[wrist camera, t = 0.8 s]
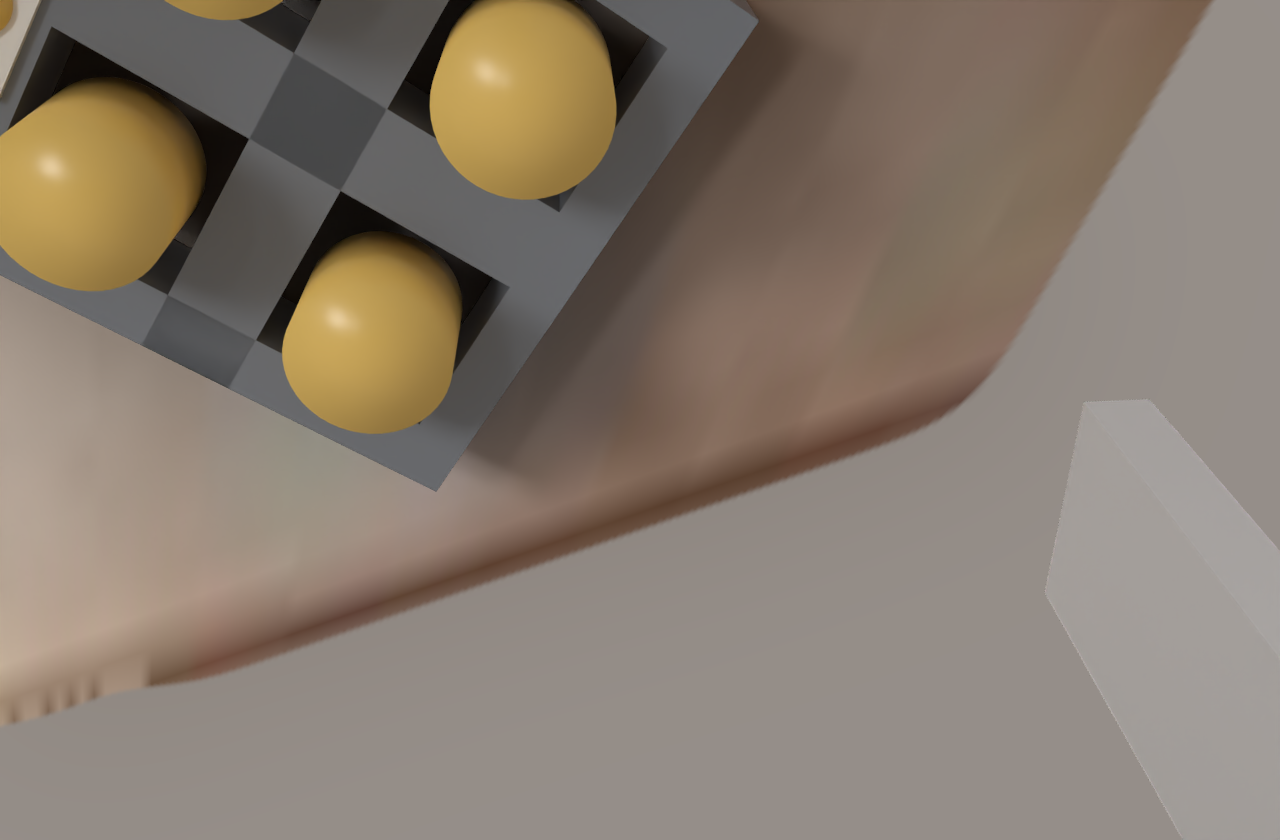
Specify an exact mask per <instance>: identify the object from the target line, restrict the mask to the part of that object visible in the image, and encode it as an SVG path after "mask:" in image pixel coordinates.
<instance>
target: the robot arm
mask: <svg viewBox="0 0 1280 840" xmlns="http://www.w3.org/2000/svg"><path fill="white" fill-rule="evenodd" d="M1045 594H1046V596H1047V598H1048V600H1049V602H1050V603H1051V605H1052V607H1053V609H1054V611H1055V612H1056V614H1057V616H1058V618H1059V619H1060V621H1061V623H1062V625H1063V627H1064V629H1065V630H1066V632H1067V634H1068V636H1069V637H1070V639H1071V641H1072V643H1073V645H1074V646H1075V648H1076V650H1077V652H1078V654H1079V655H1080V657H1081V659H1082V661H1083V663H1084V664H1085V666H1086V668H1087V670H1088V672H1089V673H1090V675H1091V677H1092V679H1093V680H1094V682H1095V684H1096V686H1097V688H1098V689H1099V691H1100V693H1101V695H1102V697H1103V698H1104V700H1105V702H1106V704H1107V706H1108V707H1109V709H1110V711H1111V713H1112V715H1113V716H1114V718H1115V720H1116V722H1117V723H1118V725H1119V727H1120V729H1121V730H1122V732H1123V734H1124V736H1125V738H1126V739H1127V741H1128V743H1129V745H1130V747H1131V748H1132V750H1133V752H1134V754H1135V756H1136V758H1137V759H1138V761H1139V763H1140V765H1141V766H1142V768H1143V770H1144V772H1145V774H1146V775H1147V777H1148V779H1149V781H1150V783H1151V784H1152V786H1153V788H1154V790H1155V791H1156V793H1157V795H1158V797H1159V799H1160V801H1161V802H1162V804H1163V806H1164V808H1165V809H1166V811H1167V813H1168V815H1169V817H1170V818H1171V820H1172V822H1173V824H1174V825H1175V827H1176V829H1177V831H1178V833H1179V835H1180V836H1181V838H1182V840H1280V551H1279V550H1278V548H1277V547H1276V546H1275V545H1274V544H1273V543H1272V541H1271V540H1270V539H1269V538H1268V537H1267V536H1266V534H1265V533H1264V532H1263V531H1262V530H1261V529H1260V527H1259V526H1258V525H1257V524H1256V523H1255V522H1254V520H1253V519H1252V518H1251V517H1250V516H1249V515H1248V513H1247V512H1246V511H1245V510H1244V509H1243V508H1242V506H1241V505H1240V504H1239V503H1238V502H1237V501H1236V500H1235V498H1234V497H1233V496H1232V495H1231V494H1230V492H1229V491H1228V490H1227V489H1226V488H1225V487H1224V485H1223V484H1222V483H1221V482H1220V481H1219V480H1218V479H1217V477H1216V476H1215V475H1214V474H1213V473H1212V471H1211V470H1210V469H1209V468H1208V467H1207V466H1206V464H1205V463H1204V462H1203V461H1202V460H1201V459H1200V457H1199V456H1198V455H1197V454H1196V453H1195V452H1194V450H1193V449H1192V448H1191V447H1190V446H1189V445H1188V443H1187V442H1186V441H1185V440H1184V439H1183V438H1182V437H1181V435H1180V434H1179V433H1178V432H1177V431H1176V429H1174V427H1173V426H1172V425H1171V424H1170V422H1169V421H1168V420H1167V419H1166V418H1165V417H1164V416H1163V414H1162V413H1161V412H1160V411H1159V410H1158V408H1157V407H1156V406H1155V405H1154V404H1153V403H1152V402H1151V400H1150V399H1141V400H1117V401H1092V402H1084V404H1083V408H1082V413H1081V418H1080V423H1079V427H1078V432H1077V437H1076V442H1075V447H1074V452H1073V457H1072V462H1071V466H1070V471H1069V476H1068V481H1067V486H1066V491H1065V496H1064V500H1063V505H1062V511H1061V515H1060V520H1059V525H1058V530H1057V535H1056V540H1055V544H1054V550H1053V554H1052V559H1051V564H1050V569H1049V574H1048V579H1047V584H1046V588H1045Z"/></svg>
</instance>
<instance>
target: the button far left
mask: <svg viewBox="0 0 1280 840" xmlns="http://www.w3.org/2000/svg"><path fill="white" fill-rule="evenodd" d="M206 175H207V171H206V160H205V154H204V151H203V147H202V144H201V142H200V139H199V137H198V135H197V133H196V131H195V130H194V128H193V126H192V125H191V123H190V122H189V120H188V119H187V118H186V117H185V115H184V114H183V113H182V112H181V111H180V110H179V109H178V108H177V107H176V106H175V105H174V104H173V103H172V102H171V101H169V100H168V99H167V98H166V97H164V96H163V95H161V94H160V93H158V92H156V91H155V90H153V89H151V88H149V87H147V86H145V85H143V84H140V83H137V82H134V81H131V80H127V79H123V78H115V77H95V78H88V79H84V80H81V81H77V82H75V83H73V84H71V85H69V86H67V87H65V88H64V89H62V90H61V91H59V92H58V93H56V94H55V95H54V96H53V97H51V98H50V99H49V100H47V101H46V102H45V103H43V104H42V105H41V106H39V107H38V108H37V109H35V110H34V111H33V112H31V113H30V114H29V115H27V116H26V117H25V118H23V119H22V120H21V121H19V122H18V123H17V124H15V125H14V126H13V127H11V128H10V129H9V130H7V131H6V132H5V133H4V134H2V135H1V136H0V246H1V247H2V248H3V249H4V250H5V251H6V253H7V254H8V255H9V256H10V257H11V258H12V259H14V260H15V261H16V262H17V263H18V264H19V265H21V266H22V267H23V268H25V269H26V270H28V271H29V272H30V273H32V274H34V275H36V276H37V277H39V278H41V279H43V280H45V281H48V282H50V283H52V284H55V285H58V286H61V287H64V288H69V289H74V290H81V291H104V290H111V289H115V288H119V287H122V286H125V285H127V284H129V283H132V282H134V281H135V280H137V279H138V278H140V277H142V276H143V275H144V274H145V273H146V272H148V271H149V270H150V269H151V268H152V266H153V265H154V264H155V263H156V262H157V260H158V259H159V258H160V256H161V255H162V254H163V252H164V251H165V249H166V248H167V247H168V245H169V244H170V243H171V241H172V240H173V239H174V237H175V236H176V235H177V233H178V232H179V230H180V229H181V228H182V226H183V225H184V224H185V222H186V221H187V220H188V218H189V217H190V216H191V214H192V213H193V211H194V210H195V208H196V207H197V205H198V204H199V202H200V200H201V197H202V195H203V192H204V188H205V184H206Z"/></svg>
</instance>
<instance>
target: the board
mask: <svg viewBox="0 0 1280 840" xmlns="http://www.w3.org/2000/svg"><path fill="white" fill-rule="evenodd" d="M448 1H449V0H321V2H320V4H319V6H318V8H317V10H316V12H315V14H314V16H313V18H312V20H311V22H309V21H307V20H305V19H304V18H302V17H301V16H299V15H297V14H296V13H294V12H292V11H291V10H289V9H287V8H286V7H284V6H283V5H281V4H278V5H276V6H275V7H273V8H272V9H270V10H268V11H266V12H263V13H261V14H259V15H256V16H252V17H249V18H244V19H238V20H216V19H208V18H204V17H200V16H196V15H193V14H190V13H188V12H185V11H183V10H181V9H179V8H177V7H175V6H173V5H171V4H169V3H168V2H166V1H165V0H0V136H1V135H2V134H4V133H5V132H6V131H7V130H9V129H10V128H11V127H13V126H14V125H15V124H17V123H18V122H19V121H21V120H22V119H23V118H25V117H26V116H27V115H29V114H30V113H31V112H33V111H34V110H35V109H37V108H38V107H39V106H41V105H42V104H43V103H45V102H46V101H47V100H49V99H50V98H51V96H52V94H53V92H54V89H55V87H56V85H57V83H58V80H59V78H60V76H61V73H62V71H63V69H64V67H65V64H66V62H67V60H68V57H69V55H70V53H71V51H72V48H73V46H74V44H75V41H78V42H80V43H82V44H83V45H85V46H87V47H89V48H90V49H92V50H94V51H96V52H97V53H99V54H101V55H103V56H104V57H106V58H108V59H110V60H111V61H113V62H115V63H117V64H119V65H120V66H122V67H124V68H126V69H127V70H129V71H131V72H133V73H134V74H136V75H138V76H140V77H141V78H143V79H145V80H147V81H148V82H150V83H152V84H154V85H155V86H157V87H159V88H161V89H162V90H164V91H166V92H168V93H169V94H171V95H173V96H175V97H176V98H178V99H180V100H182V101H184V102H185V103H187V104H189V105H191V106H192V107H194V108H196V109H198V110H199V111H201V112H203V113H205V114H206V115H208V116H210V117H212V118H213V119H215V120H217V121H219V122H220V123H222V124H224V125H226V126H227V127H229V128H231V129H233V130H234V131H236V132H238V133H240V134H242V135H243V136H245V137H247V138H249V140H248V142H247V144H246V146H245V148H244V150H243V152H242V154H241V156H240V158H239V160H238V162H237V163H236V165H235V167H234V169H233V171H232V173H231V175H230V177H229V179H228V181H227V183H226V185H225V186H224V188H223V190H222V192H221V194H220V196H219V198H218V200H217V202H216V204H215V206H214V208H213V209H212V211H211V213H210V215H209V217H208V219H207V221H206V223H205V225H204V227H203V229H202V231H201V232H200V234H199V236H198V238H197V240H196V242H195V244H194V246H193V248H192V249H190V248H189V247H187V246H185V245H183V244H181V243H179V242H177V241H175V240H174V239H173V240H172V241H171V243H170V244H169V245H168V247H167V248H166V249H165V251H164V252H163V254H162V255H161V256H160V258H159V259H158V260H157V262H156V263H155V264H154V265H153V266H152V268H151V269H150V270H149V271H148V272H146V273H145V274H144V275H143V276H142V277H140V278H138V279H137V280H135V281H134V282H132V283H129V284H127V285H125V286H122V287H119V288H115V289H111V290H104V291H81V290H74V289H69V288H64V287H61V286H58V285H55V284H52V283H50V282H48V281H45V280H43V279H41V278H39V277H37V276H36V275H34V274H32V273H30V272H29V271H28V270H26V269H25V268H23V267H22V266H21V265H19V264H18V263H17V262H16V261H15V260H14V259H12V258H11V257H10V256H9V255H8V254H7V253H6V251H5V250H4V249H3V248H2V247H1V246H0V275H1V276H3V277H5V278H7V279H9V280H11V281H13V282H15V283H17V284H19V285H21V286H23V287H25V288H27V289H29V290H31V291H33V292H35V293H37V294H39V295H41V296H43V297H45V298H47V299H49V300H51V301H53V302H55V303H57V304H59V305H61V306H63V307H65V308H67V309H69V310H71V311H73V312H75V313H78V314H80V315H82V316H84V317H86V318H88V319H90V320H92V321H94V322H96V323H98V324H100V325H102V326H104V327H106V328H108V329H110V330H112V331H114V332H116V333H118V334H120V335H122V336H124V337H126V338H128V339H130V340H132V341H134V342H136V343H138V344H140V345H142V346H144V347H146V348H148V349H150V350H152V351H154V352H156V353H158V354H160V355H162V356H164V357H166V358H168V359H170V360H172V361H174V362H176V363H178V364H180V365H182V366H184V367H186V368H188V369H190V370H192V371H194V372H196V373H198V374H200V375H202V376H204V377H206V378H208V379H210V380H212V381H214V382H216V383H218V384H220V385H222V386H224V387H226V388H228V389H230V390H232V391H234V392H236V393H238V394H240V395H243V396H245V397H247V398H249V399H251V400H253V401H255V402H257V403H259V404H261V405H263V406H265V407H267V408H269V409H271V410H273V411H275V412H277V413H279V414H281V415H283V416H285V417H287V418H289V419H291V420H293V421H295V422H297V423H299V424H301V425H303V426H305V427H307V428H309V429H311V430H313V431H315V432H317V433H319V434H321V435H323V436H325V437H327V438H329V439H331V440H333V441H335V442H337V443H339V444H341V445H343V446H345V447H347V448H349V449H351V450H353V451H355V452H357V453H359V454H361V455H363V456H365V457H367V458H369V459H371V460H373V461H375V462H377V463H379V464H381V465H383V466H385V467H387V468H389V469H391V470H393V471H395V472H397V473H399V474H401V475H403V476H405V477H408V478H410V479H412V480H414V481H416V482H418V483H420V484H422V485H424V486H426V487H428V488H430V489H432V490H434V491H437V490H438V488H439V487H440V486H441V484H442V483H443V481H444V480H445V478H446V477H447V475H448V474H449V472H450V471H451V469H452V468H453V467H454V465H455V464H456V462H457V461H458V459H459V458H460V456H461V455H462V453H463V452H464V451H465V449H466V448H467V446H468V445H469V443H470V442H471V440H472V439H473V437H474V436H475V434H476V433H477V432H478V430H479V429H480V427H481V426H482V424H483V423H484V421H485V420H486V418H487V417H488V416H489V414H490V413H491V411H492V410H493V408H494V407H495V405H496V404H497V402H498V401H499V400H500V398H501V397H502V395H503V394H504V392H505V391H506V389H507V388H508V386H509V385H510V383H511V382H512V381H513V379H514V378H515V376H516V375H517V373H518V372H519V370H520V369H521V367H522V366H523V365H524V363H525V362H526V360H527V359H528V357H529V356H530V354H531V353H532V351H533V350H534V348H535V347H536V346H537V344H538V343H539V341H540V340H541V338H542V337H543V335H544V334H545V332H546V331H547V330H548V328H549V327H550V325H551V324H552V322H553V321H554V319H555V318H556V316H557V315H558V314H559V312H560V311H561V309H562V308H563V306H564V305H565V303H566V302H567V300H568V299H569V297H570V296H571V295H572V293H573V292H574V290H575V289H576V287H577V286H578V284H579V283H580V281H581V280H582V279H583V277H584V276H585V274H586V273H587V271H588V270H589V268H590V267H591V265H592V264H593V262H594V261H595V260H596V258H597V257H598V255H599V254H600V252H601V251H602V249H603V248H604V246H605V245H606V244H607V242H608V241H609V239H610V238H611V236H612V235H613V233H614V232H615V230H616V229H617V228H618V226H619V225H620V223H621V222H622V220H623V219H624V217H625V216H626V214H627V213H628V211H629V210H630V209H631V207H632V206H633V204H634V203H635V201H636V200H637V198H638V197H639V195H640V194H641V193H642V191H643V190H644V188H645V187H646V185H647V184H648V182H649V181H650V179H651V178H652V177H653V175H654V174H655V172H656V171H657V169H658V168H659V166H660V165H661V163H662V162H663V160H664V159H665V158H666V156H667V155H668V153H669V152H670V150H671V149H672V147H673V146H674V144H675V143H676V142H677V140H678V139H679V137H680V136H681V134H682V133H683V131H684V130H685V128H686V127H687V125H688V124H689V123H690V121H691V120H692V118H693V117H694V115H695V114H696V112H697V111H698V109H699V108H700V107H701V105H702V104H703V102H704V101H705V99H706V98H707V96H708V95H709V93H710V92H711V91H712V89H713V88H714V86H715V85H716V83H717V82H718V80H719V79H720V77H721V76H722V74H723V73H724V72H725V70H726V69H727V67H728V66H729V64H730V63H731V61H732V60H733V58H734V57H735V56H736V54H737V53H738V51H739V50H740V48H741V47H742V45H743V44H744V42H745V41H746V39H747V38H748V37H749V35H750V34H751V32H752V31H753V29H754V28H755V26H756V25H757V23H758V22H759V20H758V18H757V17H756V15H755V14H754V12H753V11H752V9H751V7H750V6H749V4H748V3H747V1H746V0H597V1H598V2H600V3H601V4H603V5H604V6H606V7H607V8H608V9H610V10H611V11H613V12H614V13H616V14H617V15H619V16H620V17H622V18H623V19H625V20H626V21H628V22H629V23H631V24H632V25H634V26H635V27H637V28H638V29H640V30H641V31H643V32H644V33H646V34H647V35H649V38H648V39H647V41H646V43H645V44H644V46H643V47H642V49H641V50H640V52H639V53H638V55H637V56H636V58H635V59H634V61H633V63H632V64H631V66H630V67H629V69H628V70H627V72H626V73H625V75H624V76H623V78H622V80H621V81H620V83H619V84H618V86H617V87H616V89H615V90H614V91H615V98H616V123H615V129H614V133H613V137H612V140H611V142H610V145H609V147H608V150H607V151H606V153H605V155H604V157H603V158H602V160H601V161H600V163H599V164H598V165H597V167H596V168H595V169H594V170H593V171H592V172H591V173H590V174H589V175H588V176H587V177H586V178H585V179H583V180H582V181H581V182H580V183H578V184H577V185H575V186H573V187H572V188H570V189H568V190H566V191H564V192H562V193H559V194H557V195H553V196H550V197H546V198H540V199H531V200H520V199H511V198H506V197H502V196H498V195H495V194H493V193H490V192H487V191H485V190H483V189H481V188H479V187H478V186H476V185H474V184H473V183H471V182H470V181H469V180H467V179H466V178H465V177H464V176H462V175H461V174H460V173H459V172H458V171H457V170H456V169H455V168H454V167H453V165H452V164H451V163H450V162H449V160H448V159H447V158H446V156H445V155H444V153H443V151H442V149H441V148H440V146H439V144H438V142H437V139H436V136H435V133H434V131H433V126H432V122H431V116H430V95H428V94H426V93H425V92H423V91H421V90H420V89H418V88H417V87H415V86H413V85H412V84H410V83H408V82H407V81H405V80H404V78H405V77H406V75H407V73H408V71H409V70H410V68H411V66H412V64H413V63H414V61H415V59H416V57H417V56H418V54H419V52H420V50H421V49H422V47H423V45H424V43H425V41H426V40H427V38H428V36H429V34H430V33H431V31H432V29H433V27H434V26H435V24H436V22H437V20H438V19H439V17H440V15H441V13H442V12H443V10H444V8H445V6H446V5H447V3H448ZM340 191H342V192H343V193H345V194H347V195H349V196H350V197H352V198H354V199H356V200H357V201H359V202H361V203H363V204H364V205H366V206H368V207H370V208H372V209H373V210H375V211H377V212H379V213H380V214H382V215H384V216H386V217H387V218H389V219H391V220H393V221H394V222H396V223H398V224H400V225H401V226H403V227H405V228H407V229H408V230H410V231H412V232H414V233H415V234H417V235H419V236H421V237H422V238H424V239H426V240H428V241H429V242H431V243H433V244H435V245H437V246H438V247H440V248H442V249H444V250H445V251H447V252H449V253H451V254H452V255H454V256H456V257H458V258H459V259H461V260H463V261H465V262H466V263H468V264H470V265H472V266H473V267H475V268H477V269H479V270H480V271H482V272H484V273H486V274H487V275H489V276H491V277H493V278H492V280H491V281H490V283H489V284H488V286H487V287H486V289H485V290H484V292H483V294H482V295H481V297H480V298H479V300H478V301H477V303H476V304H475V306H474V307H473V309H472V310H471V312H470V314H469V315H468V317H467V318H466V320H465V321H464V323H463V324H462V326H461V327H460V331H459V337H458V343H457V349H456V355H455V361H454V367H453V374H452V378H451V383H450V386H449V388H448V391H447V393H446V395H445V397H444V398H443V400H442V402H441V403H440V404H439V405H438V407H437V408H436V409H435V410H434V411H433V412H432V413H431V414H430V415H429V416H427V417H426V418H425V419H423V420H422V421H420V422H418V423H417V424H415V425H413V426H411V427H408V428H406V429H403V430H399V431H395V432H390V433H383V434H367V433H358V432H353V431H349V430H346V429H342V428H339V427H337V426H335V425H332V424H330V423H328V422H327V421H325V420H323V419H321V418H320V417H318V416H317V415H316V414H314V413H313V412H312V411H311V410H309V409H308V408H307V407H306V406H305V405H304V404H303V403H302V401H301V400H300V399H299V398H298V397H297V395H296V394H295V392H294V391H293V389H292V388H291V386H290V383H289V381H288V379H287V377H286V373H285V370H284V366H283V359H282V347H283V340H284V336H285V333H286V330H287V327H288V325H289V323H290V321H291V318H292V316H293V314H294V312H295V309H296V307H297V305H296V304H294V303H292V302H290V301H289V300H287V299H285V298H283V297H281V295H282V293H283V292H284V290H285V288H286V286H287V284H288V283H289V281H290V279H291V277H292V276H293V274H294V272H295V270H296V269H297V267H298V265H299V263H300V262H301V260H302V258H303V256H304V255H305V253H306V251H307V249H308V248H309V246H310V244H311V242H312V240H313V239H314V237H315V235H316V233H317V232H318V230H319V228H320V226H321V225H322V223H323V221H324V219H325V218H326V216H327V214H328V212H329V211H330V209H331V207H332V205H333V203H334V202H335V200H336V198H337V196H338V195H339V193H340Z"/></svg>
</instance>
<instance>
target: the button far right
mask: <svg viewBox="0 0 1280 840" xmlns="http://www.w3.org/2000/svg"><path fill="white" fill-rule="evenodd" d="M462 308H463V304H462V295H461V290H460V287H459V284H458V281H457V279H456V277H455V275H454V273H453V271H452V270H451V268H450V267H449V265H448V264H447V263H446V261H445V260H444V259H443V258H442V257H441V256H440V255H439V254H438V253H437V252H435V251H434V250H433V249H432V248H430V247H429V246H427V245H426V244H424V243H423V242H421V241H419V240H417V239H415V238H412V237H409V236H407V235H404V234H400V233H395V232H388V231H370V232H363V233H359V234H355V235H352V236H350V237H347V238H345V239H343V240H341V241H339V242H338V243H336V244H334V245H333V246H332V247H331V248H329V249H328V250H327V251H326V252H325V253H324V254H323V255H322V256H321V258H320V259H319V261H318V262H317V264H316V265H315V267H314V269H313V271H312V273H311V276H310V278H309V280H308V282H307V285H306V287H305V289H304V291H303V294H302V296H301V298H300V300H299V303H298V305H297V307H296V309H295V312H294V314H293V316H292V318H291V321H290V323H289V325H288V327H287V330H286V333H285V336H284V340H283V347H282V359H283V366H284V370H285V373H286V377H287V379H288V381H289V383H290V386H291V388H292V389H293V391H294V392H295V394H296V395H297V397H298V398H299V399H300V400H301V401H302V403H303V404H304V405H305V406H306V407H307V408H308V409H309V410H311V411H312V412H313V413H314V414H316V415H317V416H318V417H320V418H321V419H323V420H325V421H327V422H328V423H330V424H332V425H335V426H337V427H339V428H342V429H346V430H349V431H353V432H358V433H367V434H383V433H390V432H395V431H399V430H403V429H406V428H408V427H411V426H413V425H415V424H417V423H418V422H420V421H422V420H423V419H425V418H426V417H427V416H429V415H430V414H431V413H432V412H433V411H434V410H435V409H436V408H437V407H438V405H439V404H440V403H441V402H442V400H443V398H444V397H445V395H446V393H447V391H448V388H449V386H450V383H451V378H452V374H453V367H454V361H455V355H456V349H457V343H458V337H459V331H460V325H461V318H462Z"/></svg>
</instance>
